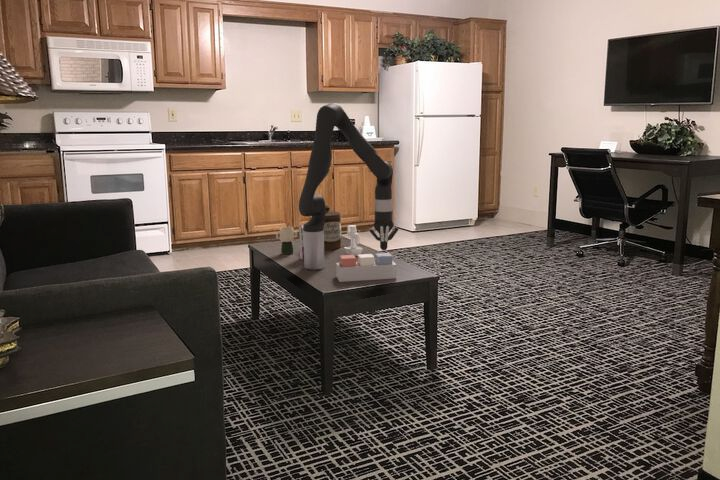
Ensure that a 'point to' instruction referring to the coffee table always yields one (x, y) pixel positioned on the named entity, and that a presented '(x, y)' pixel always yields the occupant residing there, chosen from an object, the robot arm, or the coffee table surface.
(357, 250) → the figurine
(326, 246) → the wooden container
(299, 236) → the candy bar box
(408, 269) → the coffee table surface
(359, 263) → the cream white block
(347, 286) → the coffee table surface
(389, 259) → the blue key
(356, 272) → the control box
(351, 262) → the red key
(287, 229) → the character mug
